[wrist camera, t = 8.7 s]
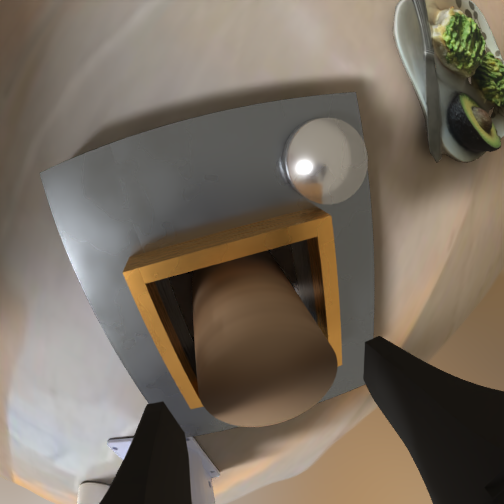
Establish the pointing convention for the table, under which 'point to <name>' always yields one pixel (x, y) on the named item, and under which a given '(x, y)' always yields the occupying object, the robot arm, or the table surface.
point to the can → (91, 492)
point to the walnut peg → (256, 344)
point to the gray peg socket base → (221, 231)
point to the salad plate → (453, 75)
